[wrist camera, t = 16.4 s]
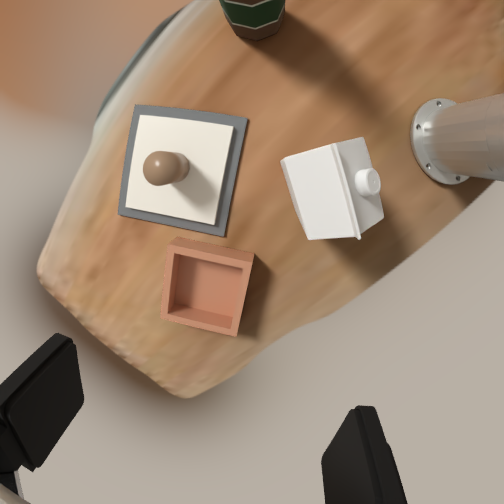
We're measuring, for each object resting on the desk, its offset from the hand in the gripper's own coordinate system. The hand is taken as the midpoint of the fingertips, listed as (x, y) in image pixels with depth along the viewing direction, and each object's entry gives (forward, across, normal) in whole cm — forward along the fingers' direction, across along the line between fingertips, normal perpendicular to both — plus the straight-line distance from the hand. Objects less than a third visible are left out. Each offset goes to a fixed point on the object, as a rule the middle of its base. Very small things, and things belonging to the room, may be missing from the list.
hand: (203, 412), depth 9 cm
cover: (+33, +12, -5) cm, 35 cm away
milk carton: (+34, -6, -7) cm, 35 cm away
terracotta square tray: (+33, +5, +10) cm, 35 cm away
